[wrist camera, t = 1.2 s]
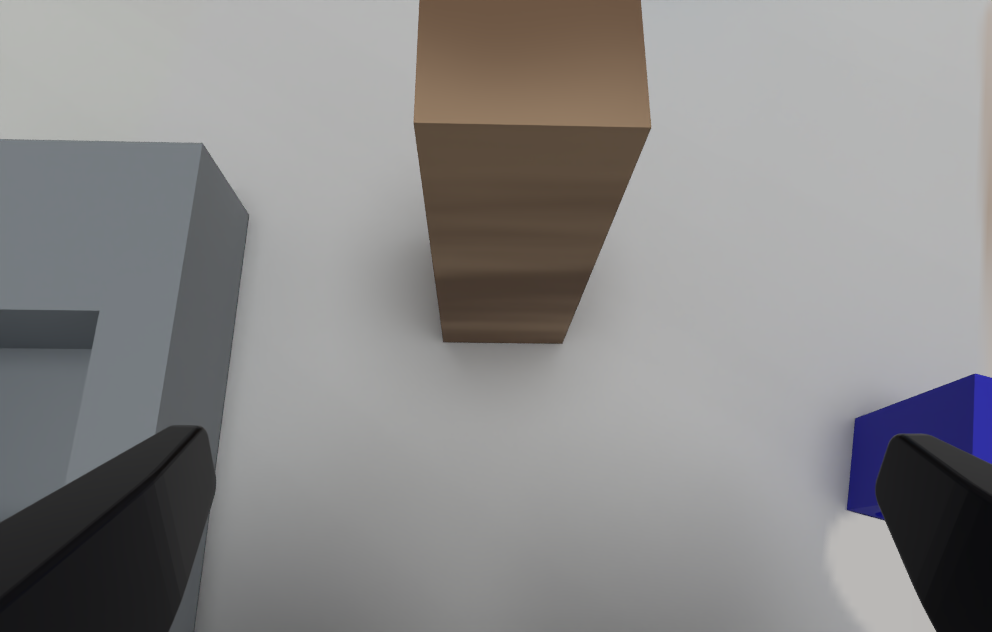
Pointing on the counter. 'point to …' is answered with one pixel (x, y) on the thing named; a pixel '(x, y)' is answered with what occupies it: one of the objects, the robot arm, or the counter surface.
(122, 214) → the grey socket block
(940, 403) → the blue stepped arch
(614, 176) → the walnut peg
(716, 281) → the counter surface
